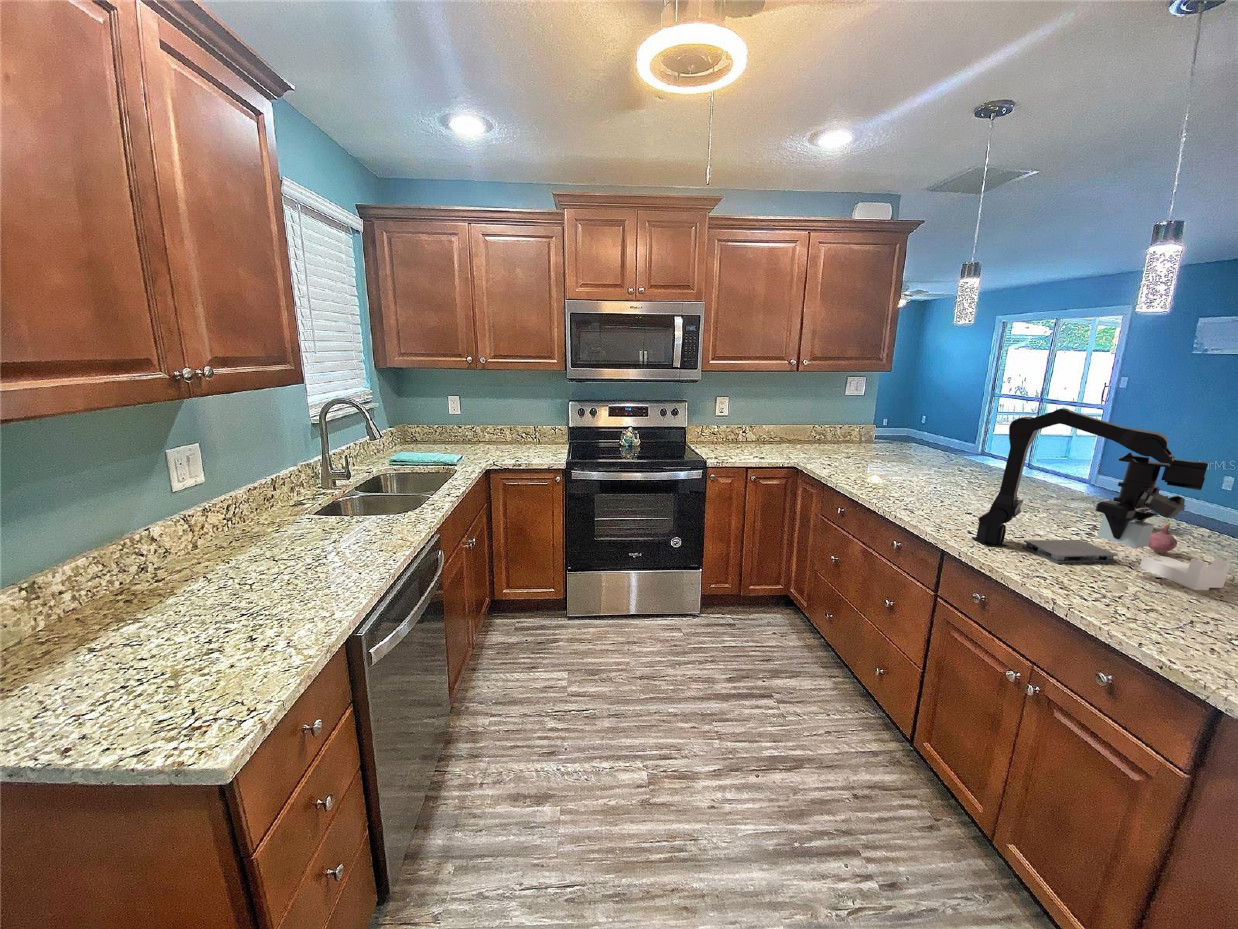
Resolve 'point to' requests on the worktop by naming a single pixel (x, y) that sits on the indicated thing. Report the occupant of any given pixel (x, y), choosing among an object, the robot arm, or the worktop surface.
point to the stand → (1069, 551)
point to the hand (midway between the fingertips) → (1122, 537)
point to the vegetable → (1162, 541)
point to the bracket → (1189, 571)
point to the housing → (1128, 533)
